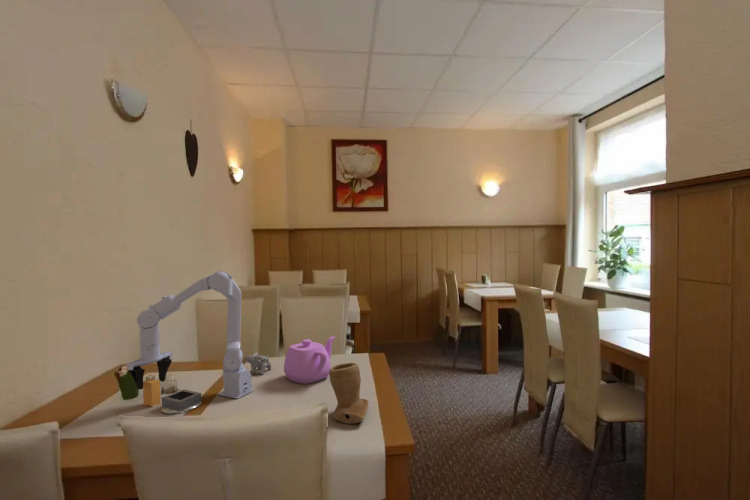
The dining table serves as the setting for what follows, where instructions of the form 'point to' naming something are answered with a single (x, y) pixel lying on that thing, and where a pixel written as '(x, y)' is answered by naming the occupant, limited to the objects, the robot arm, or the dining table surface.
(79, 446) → the dining table surface
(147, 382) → the rectangular block
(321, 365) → the teapot
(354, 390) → the clay pipe bowl
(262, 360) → the gray elephant figurine
